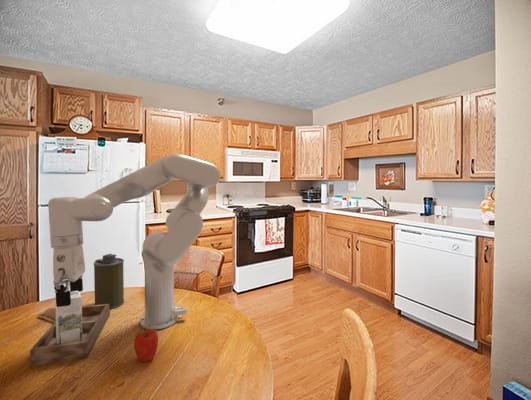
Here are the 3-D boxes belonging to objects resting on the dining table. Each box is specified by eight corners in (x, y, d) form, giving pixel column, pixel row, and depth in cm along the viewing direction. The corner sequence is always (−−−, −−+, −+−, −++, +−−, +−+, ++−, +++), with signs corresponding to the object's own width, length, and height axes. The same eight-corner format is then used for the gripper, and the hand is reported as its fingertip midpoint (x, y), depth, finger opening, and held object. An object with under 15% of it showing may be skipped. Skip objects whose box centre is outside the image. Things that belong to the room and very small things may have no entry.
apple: (140, 351, 79) (140, 326, 78) (161, 351, 79) (161, 326, 78) (129, 365, 73) (129, 338, 72) (152, 366, 72) (152, 339, 72)
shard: (55, 324, 93) (55, 319, 93) (28, 328, 91) (28, 322, 91) (67, 310, 103) (67, 306, 103) (43, 313, 101) (43, 308, 101)
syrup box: (79, 335, 83) (78, 289, 82) (82, 344, 79) (81, 295, 78) (55, 342, 79) (54, 294, 79) (58, 352, 75) (56, 301, 74)
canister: (130, 300, 112) (129, 252, 111) (110, 311, 102) (109, 259, 101) (108, 297, 115) (107, 250, 113) (86, 308, 104) (85, 257, 103)
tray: (109, 315, 99) (109, 303, 99) (87, 358, 75) (87, 342, 75) (68, 320, 95) (67, 307, 95) (30, 366, 71) (30, 350, 71)
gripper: (71, 246, 71) (74, 310, 72) (91, 233, 87) (94, 285, 88) (36, 248, 68) (40, 314, 70) (64, 235, 85) (67, 288, 86)
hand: (70, 298), depth 79 cm, fingers open, 9 cm apart
